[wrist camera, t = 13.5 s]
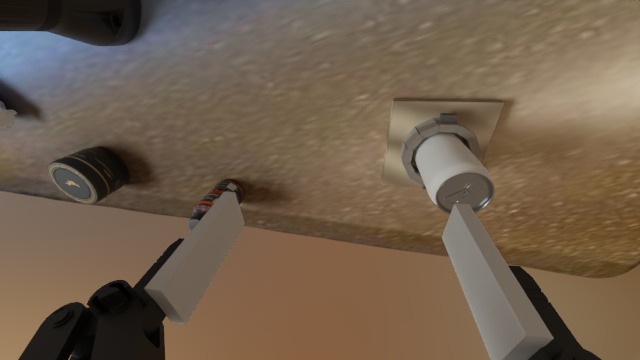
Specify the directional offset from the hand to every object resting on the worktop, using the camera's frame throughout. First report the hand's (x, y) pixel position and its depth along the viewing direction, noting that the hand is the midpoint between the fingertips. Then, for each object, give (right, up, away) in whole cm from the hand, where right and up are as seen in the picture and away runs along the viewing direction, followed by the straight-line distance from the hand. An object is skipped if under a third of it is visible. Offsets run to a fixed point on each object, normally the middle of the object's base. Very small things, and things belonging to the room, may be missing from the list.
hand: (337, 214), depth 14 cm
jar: (-47, +5, +36) cm, 60 cm away
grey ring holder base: (+17, +8, +21) cm, 28 cm away
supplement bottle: (-20, 0, +34) cm, 39 cm away
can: (+16, +7, +20) cm, 27 cm away
